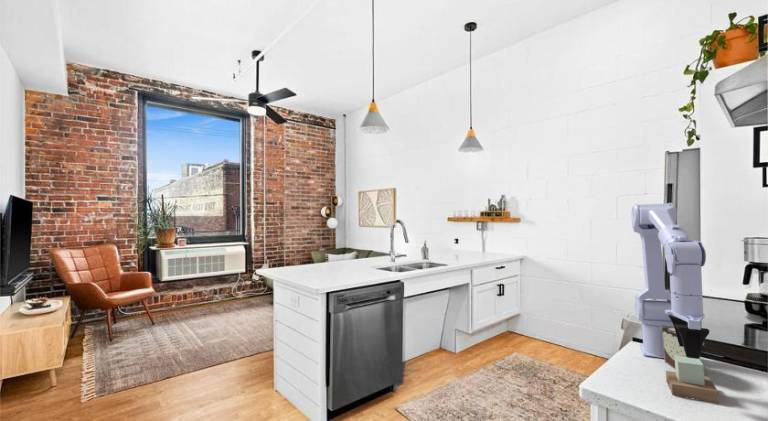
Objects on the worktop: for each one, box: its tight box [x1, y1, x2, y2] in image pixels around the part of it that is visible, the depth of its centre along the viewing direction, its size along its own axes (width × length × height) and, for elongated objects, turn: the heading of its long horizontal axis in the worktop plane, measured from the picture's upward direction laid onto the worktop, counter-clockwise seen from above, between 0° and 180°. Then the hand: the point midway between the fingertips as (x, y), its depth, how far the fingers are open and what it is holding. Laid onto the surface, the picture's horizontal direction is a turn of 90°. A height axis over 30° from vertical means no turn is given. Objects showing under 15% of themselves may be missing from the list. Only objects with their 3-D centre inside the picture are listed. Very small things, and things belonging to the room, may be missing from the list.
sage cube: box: [674, 356, 705, 386], centre depth 85 cm, size 4×4×4 cm
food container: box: [661, 325, 705, 370], centre depth 95 cm, size 12×6×10 cm, turn 168°
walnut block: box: [665, 370, 720, 404], centre depth 84 cm, size 8×8×3 cm
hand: (688, 351), depth 84 cm, fingers open, 7 cm apart
